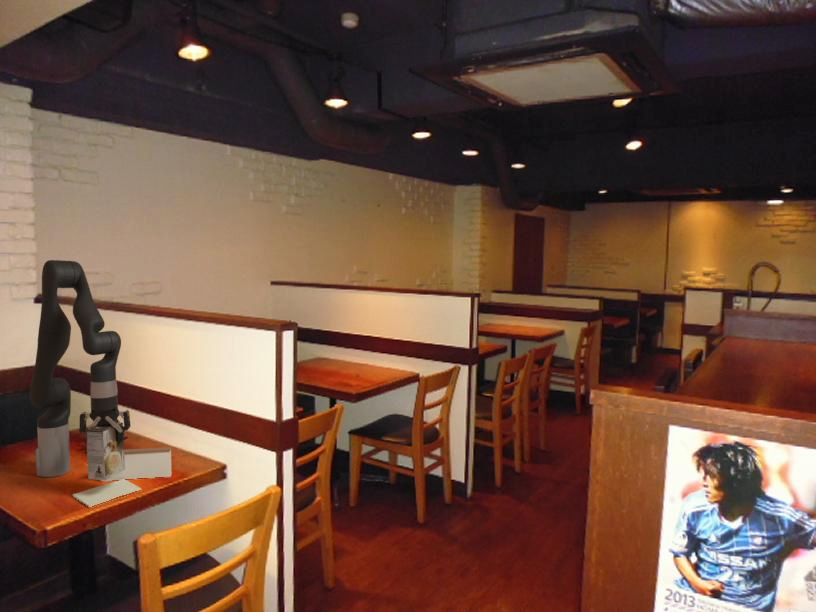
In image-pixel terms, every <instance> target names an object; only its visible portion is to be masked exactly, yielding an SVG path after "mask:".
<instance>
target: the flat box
mask: <svg viewBox="0 0 816 612" xmlns="http://www.w3.org/2000/svg"><path fill="white" fill-rule="evenodd" d="M124 460H125V470H123V471H121V472H120V473H118V474H116V475H114V476H112V477H111V478H109V479H107V480H100V482H101V481H105V482H113V481H112V480H122V479H134V480H138V479H137V478H149V479H156V478H155V477H164V478H171V477H172V446H165V447H149V448H133V449H132V448H130V449H129V448H128V449H127V448H126V449H124Z"/></svg>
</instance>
